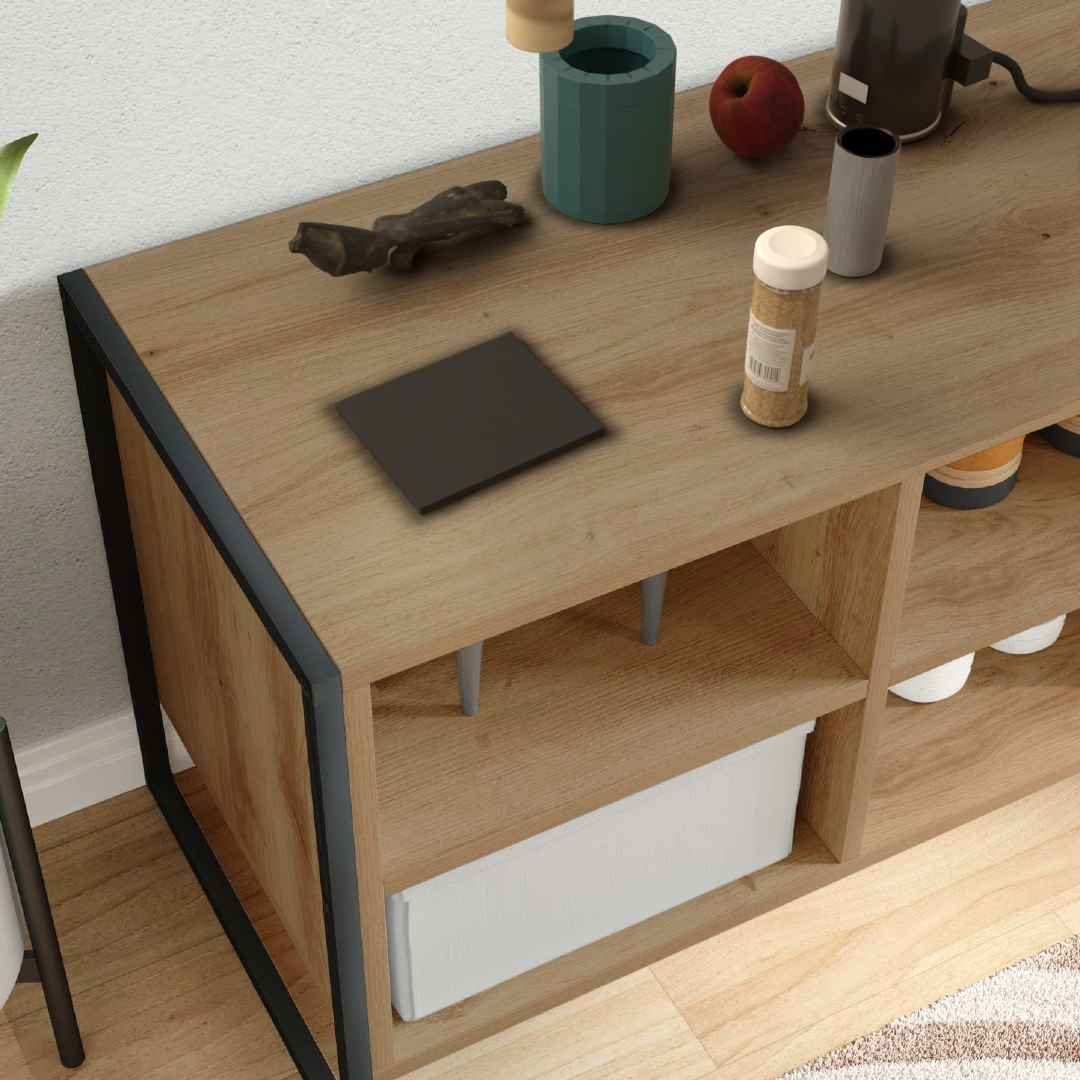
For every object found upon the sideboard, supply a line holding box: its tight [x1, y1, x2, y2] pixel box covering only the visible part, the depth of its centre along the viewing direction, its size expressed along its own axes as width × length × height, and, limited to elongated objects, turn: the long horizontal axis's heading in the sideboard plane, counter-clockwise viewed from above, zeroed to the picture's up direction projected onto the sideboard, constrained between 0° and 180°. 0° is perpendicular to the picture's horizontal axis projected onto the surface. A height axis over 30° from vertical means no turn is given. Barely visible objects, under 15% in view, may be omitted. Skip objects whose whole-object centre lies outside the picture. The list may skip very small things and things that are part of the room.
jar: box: [538, 14, 678, 225], centre depth 120 cm, size 10×10×12 cm
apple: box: [708, 54, 806, 159], centre depth 125 cm, size 7×8×8 cm
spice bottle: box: [740, 224, 829, 428], centre depth 102 cm, size 5×5×13 cm
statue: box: [287, 179, 527, 278], centre depth 117 cm, size 6×6×20 cm
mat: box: [334, 331, 605, 516], centre depth 106 cm, size 14×12×1 cm
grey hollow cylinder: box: [821, 123, 902, 278], centre depth 114 cm, size 4×4×10 cm
